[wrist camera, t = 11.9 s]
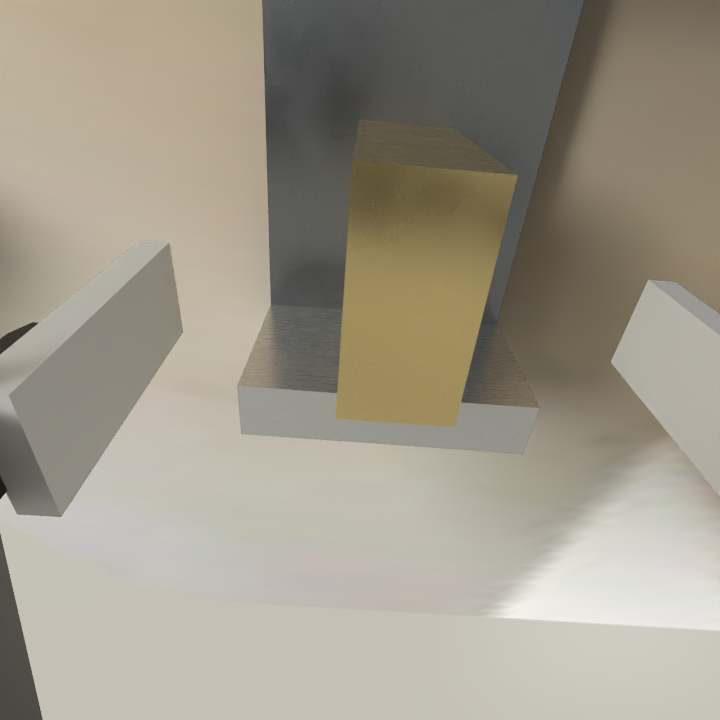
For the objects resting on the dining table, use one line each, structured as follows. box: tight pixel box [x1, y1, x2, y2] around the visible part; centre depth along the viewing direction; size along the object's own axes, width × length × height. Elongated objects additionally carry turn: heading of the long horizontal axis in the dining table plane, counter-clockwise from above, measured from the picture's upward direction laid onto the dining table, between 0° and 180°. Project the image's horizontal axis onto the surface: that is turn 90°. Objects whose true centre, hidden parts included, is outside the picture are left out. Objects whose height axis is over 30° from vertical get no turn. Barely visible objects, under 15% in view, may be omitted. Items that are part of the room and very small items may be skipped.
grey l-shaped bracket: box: [237, 0, 584, 454], centre depth 16 cm, size 26×12×9 cm, turn 175°
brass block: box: [336, 120, 518, 427], centre depth 17 cm, size 8×4×10 cm, turn 175°
